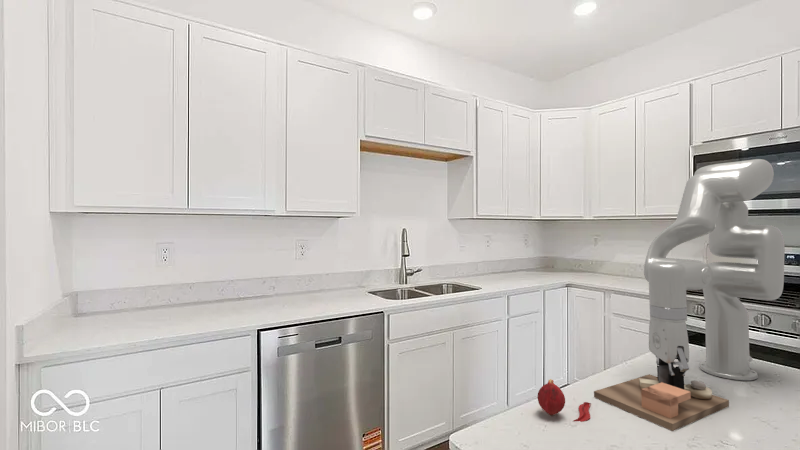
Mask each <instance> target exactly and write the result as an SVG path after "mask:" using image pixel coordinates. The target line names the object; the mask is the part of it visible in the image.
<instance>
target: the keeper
mask: <svg viewBox="0 0 800 450" xmlns="http://www.w3.org/2000/svg"><path fill="white" fill-rule="evenodd" d="M641 399H642V407H643V408H646V409H648V410H651V411H653V412H656V413H658V414H661V415H663V416H665V417H668V418H673V417H675V416H678V403H681V402H683V401H686V400H689V399H691V392H690V391H687V390H684V389H681V388H678V387H675V386H672V385H669V384H665V383H662V382H661V383H658V384H655V385H652V386H649V387H646V388H643V389H641Z"/></svg>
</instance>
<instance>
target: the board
mask: <svg viewBox="0 0 800 450" xmlns="http://www.w3.org/2000/svg"><path fill="white" fill-rule="evenodd" d="M639 378H642V379H649V380H657V381H658V376H656V375H654V374H651V373H650V374H645V375H643V376H640V377H636V378H632V379H629V380H626V381H623V382H620V383H616V384H614V385H611V386H607V387H604V388H599V389H597V390H594V391H593V398H595V399H597V400H599V401H602V402H604V403H606V404H609V405H611V406H612V407H613V406H614V407H615V408H618V409H620V410H622V411H625V412H628V413H629V414H632V415H634V416H636V417H639V418H641V419H644V420H646V421H648V422H649V423H650V422H651V423H653V424H655V425H657V426H660V427H662V428H664V429H666V430H669V431H671V432H674V431H676V430H679V429H681V428H683V427H686V426H688V425H690V424H692V423H695V422H698V421H699V420H702V419H704V418H706V417H709V416H710V415H711V416H712V415H713V414H715V413H718V412H720V411H722V410H724V409H726V408H729V407H730V400H729V399H727V398H724V397H721V396H717V395H714V394H712V398H711V399H700V398H695V397H692V396H691V399H689V400H686V401H683V402H681V403H678V416H675V417H673V418H668V417H665V416H663V415H661V414H658V413H656V412H653V411H651V410H648V409H646V408H643V407H642V399H641V388H640V385H639ZM690 384H691V386H692V387H693V388H696V389H706V387H707V384H706V383H705V382H703V381H701V380H691V381H690Z"/></svg>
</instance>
